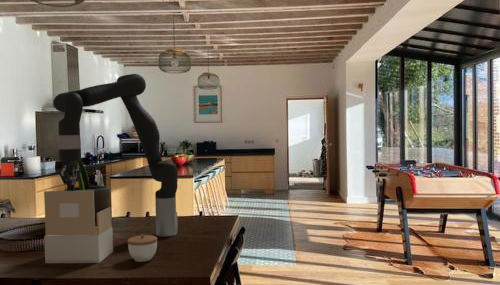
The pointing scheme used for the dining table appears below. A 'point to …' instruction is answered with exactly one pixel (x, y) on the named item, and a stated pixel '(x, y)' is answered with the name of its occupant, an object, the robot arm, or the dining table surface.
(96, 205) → the potted plant
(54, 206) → the flap
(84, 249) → the carton
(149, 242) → the lidded jar
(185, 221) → the dining table surface
